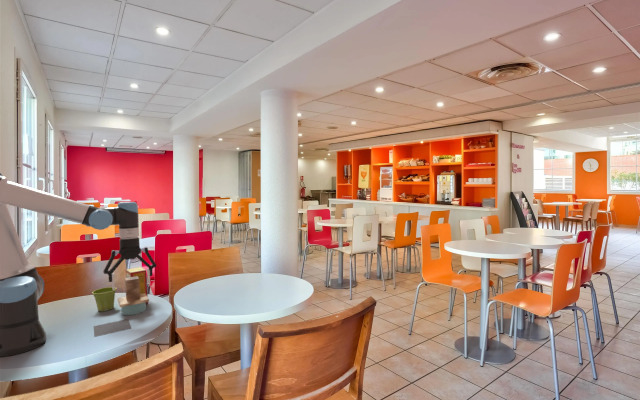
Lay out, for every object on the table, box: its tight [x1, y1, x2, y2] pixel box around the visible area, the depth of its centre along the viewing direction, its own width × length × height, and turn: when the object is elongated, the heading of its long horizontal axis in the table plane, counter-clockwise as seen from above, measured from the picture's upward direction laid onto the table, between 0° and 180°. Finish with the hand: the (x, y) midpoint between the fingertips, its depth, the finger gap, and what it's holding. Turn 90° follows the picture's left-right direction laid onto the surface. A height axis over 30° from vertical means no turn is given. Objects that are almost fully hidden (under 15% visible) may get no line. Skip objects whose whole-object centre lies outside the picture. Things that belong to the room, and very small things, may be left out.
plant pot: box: [91, 286, 117, 312], centre depth 159 cm, size 9×9×9 cm
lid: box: [117, 276, 150, 308], centre depth 154 cm, size 11×11×10 cm
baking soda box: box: [125, 266, 149, 304], centre depth 167 cm, size 10×6×16 cm
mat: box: [93, 318, 132, 338], centre depth 137 cm, size 12×12×1 cm
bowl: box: [120, 302, 147, 316], centre depth 154 cm, size 9×9×5 cm
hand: (131, 286), depth 154 cm, fingers open, 13 cm apart
